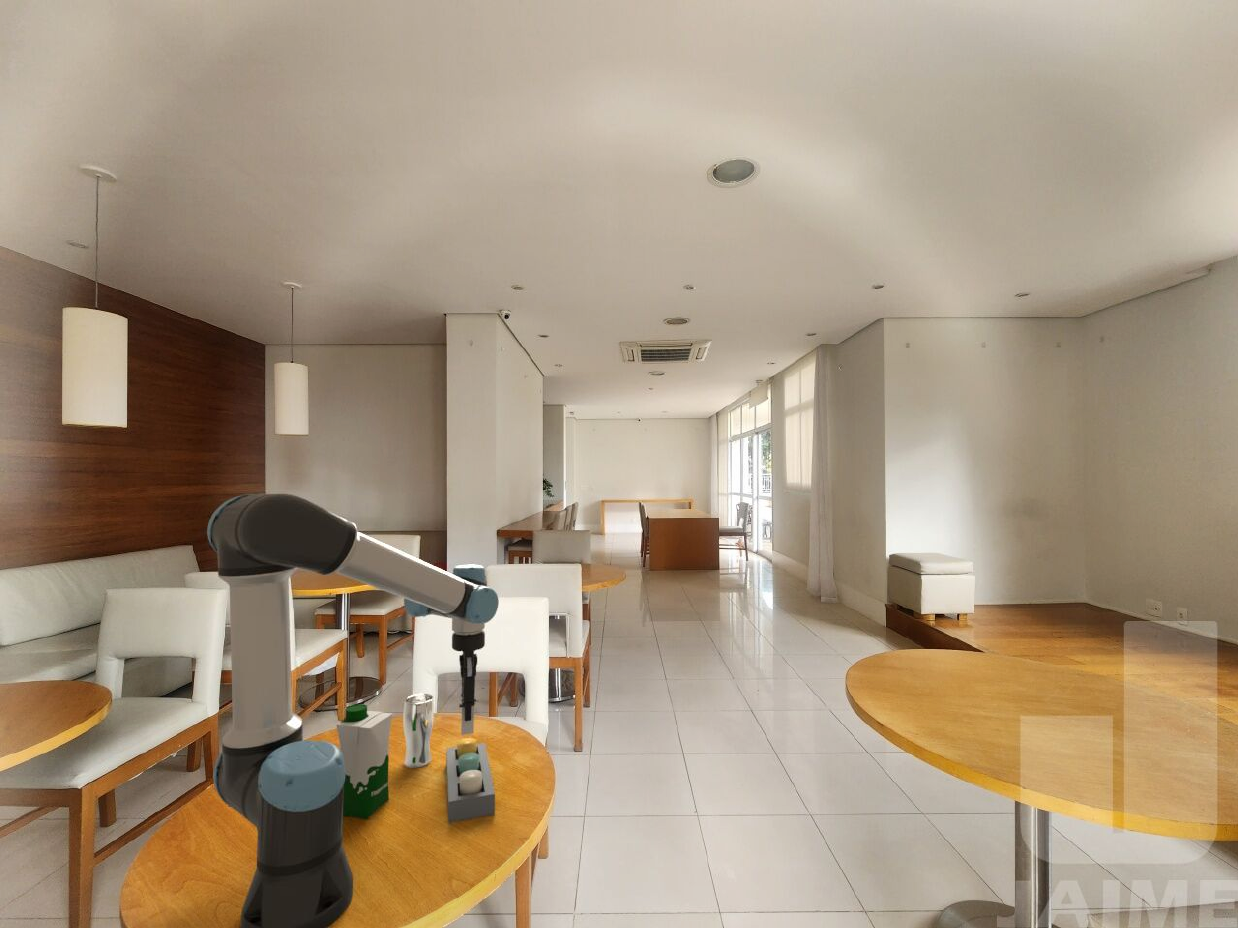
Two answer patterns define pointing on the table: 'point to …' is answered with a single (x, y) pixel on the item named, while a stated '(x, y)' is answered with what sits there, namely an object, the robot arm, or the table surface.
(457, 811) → the console
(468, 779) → the button ivory
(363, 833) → the table surface
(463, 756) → the button teal
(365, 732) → the milk carton
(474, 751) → the button amber
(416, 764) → the beer glass
